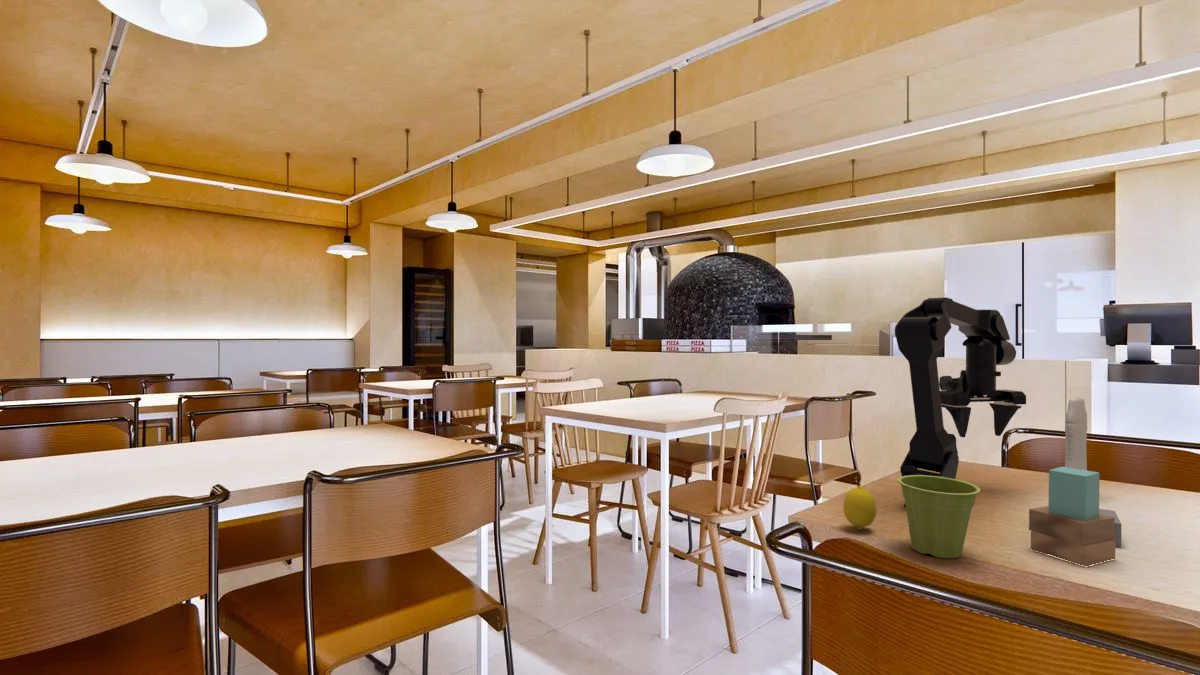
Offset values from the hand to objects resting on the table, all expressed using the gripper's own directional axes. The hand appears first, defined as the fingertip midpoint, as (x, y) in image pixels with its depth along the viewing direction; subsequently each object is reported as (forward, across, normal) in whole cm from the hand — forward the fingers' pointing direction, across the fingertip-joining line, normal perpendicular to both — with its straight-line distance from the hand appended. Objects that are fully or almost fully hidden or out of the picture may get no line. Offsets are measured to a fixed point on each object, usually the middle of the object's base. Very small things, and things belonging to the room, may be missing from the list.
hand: (980, 436), depth 132 cm
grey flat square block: (+13, +3, +26) cm, 29 cm away
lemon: (+13, +41, +16) cm, 46 cm away
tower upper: (+10, +14, +33) cm, 37 cm away
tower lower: (+13, +14, +34) cm, 39 cm away
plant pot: (+13, +35, +28) cm, 47 cm away
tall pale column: (+13, -20, +5) cm, 24 cm away
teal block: (+6, +14, +34) cm, 37 cm away
